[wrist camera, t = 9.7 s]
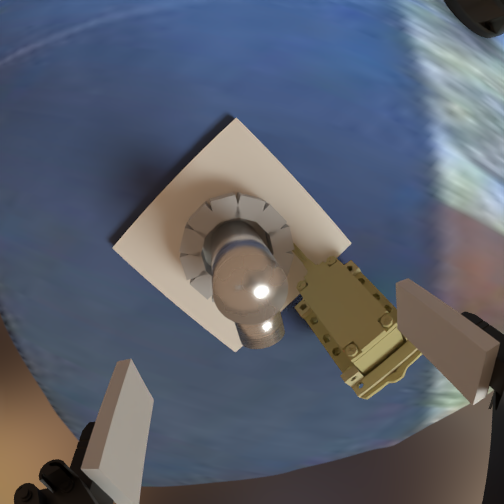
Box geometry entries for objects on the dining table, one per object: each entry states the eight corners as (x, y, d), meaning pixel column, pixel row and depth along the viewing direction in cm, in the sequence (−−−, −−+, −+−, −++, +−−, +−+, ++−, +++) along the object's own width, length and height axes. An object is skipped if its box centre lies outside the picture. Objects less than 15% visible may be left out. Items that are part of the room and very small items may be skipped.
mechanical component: (315, 321, 46) (393, 429, 30) (253, 256, 34) (361, 415, 19) (356, 287, 45) (444, 387, 30) (309, 209, 34) (447, 343, 18)
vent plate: (235, 118, 30) (239, 112, 26) (347, 241, 35) (363, 250, 31) (114, 245, 32) (103, 256, 28) (234, 347, 37) (237, 367, 33)
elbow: (204, 228, 32) (203, 266, 20) (253, 214, 32) (279, 245, 20) (225, 296, 34) (234, 361, 22) (270, 283, 34) (300, 342, 23)
